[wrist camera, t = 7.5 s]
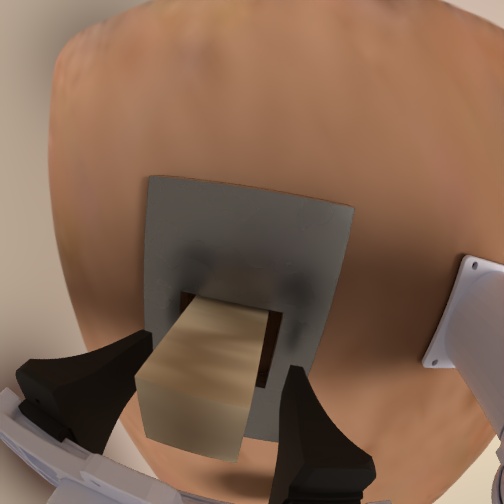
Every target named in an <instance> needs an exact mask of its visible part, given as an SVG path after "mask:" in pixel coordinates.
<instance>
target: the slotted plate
mask: <svg viewBox="0 0 504 504" xmlns="http://www.w3.org/2000/svg"><path fill="white" fill-rule="evenodd" d="M354 210H355V208H354V207H352V206H350V205H346V204H342V203H337V202H332V201H328V200H323V199H318V198H313V197H308V196H302V195H297V194H292V193H286V192H280V191H275V190H269V189H263V188H257V187H250V186H244V185H237V184H230V183H223V182H215V181H208V180H200V179H191V178H183V177H174V176H164V175H158V176H150V177H149V186H148V197H147V209H146V223H145V242H144V323H145V331H149V332H152V337H153V351H154V350H155V348H156V347H157V346H158V344H159V343H160V342H161V341H162V339H163V338H164V337H165V335H166V334H167V333H168V331H169V330H170V329H171V328H172V326H173V325H174V324H175V322H176V321H177V320H178V318H179V317H180V316H181V315H182V313H183V312H184V311H185V309H186V308H187V307H188V302H189V293H192V294H196V295H200V296H205V297H209V298H214V299H218V300H223V301H228V302H232V303H237V304H242V305H247V306H252V307H257V308H262V309H267V310H273V311H278V312H282V315H281V319H280V324H279V328H278V332H277V336H276V341H275V345H274V349H273V353H272V357H271V361H270V365H269V369H268V373H262V372H257V377H256V382H255V387H254V392H253V397H252V402H251V407H250V411H249V415H248V419H247V423H246V427H245V431H244V435H243V437H247V438H253V439H259V440H265V441H271V442H278V443H279V407H280V400H281V393H282V390H283V387H284V384H285V380H286V377H287V374H288V371H289V368H290V365H295V366H302V367H303V368H304V370H305V373H306V376H307V377H308V374H309V372H310V369H311V366H312V363H313V360H314V357H315V355H316V352H317V349H318V346H319V343H320V340H321V337H322V333H323V330H324V327H325V324H326V321H327V317H328V314H329V311H330V307H331V304H332V300H333V297H334V293H335V290H336V286H337V282H338V279H339V275H340V271H341V267H342V263H343V259H344V255H345V251H346V247H347V243H348V238H349V234H350V229H351V225H352V220H353V215H354Z"/></svg>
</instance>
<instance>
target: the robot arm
mask: <svg viewBox="0 0 504 504" xmlns="http://www.w3.org/2000/svg"><path fill="white" fill-rule="evenodd" d="M474 262H475V264H474V266H473V267H472V265H473V263H474ZM152 352H153V337H152V332H149V331H145V330H140V331H138V332H136V333H134V334H131V335H129V336H127V337H125V338H123V339H121V340H119V341H117V342H115V343H112V344H110V345H108V346H105V347H103V348H100V349H98V350H95V351H92V352H89V353H85V354H81V355H77V356H72V357H67V358H59V359H29V360H28V361H27V362H26V363H25V364H23V365H22V366H21V367H20V368H19V369H17V370H16V379H17V381H18V384H19V385H20V388H21V390H22V392H23V394H24V396H25V398H26V399H25V400H24V401H23V402H22V400H21V399H20V398H19V397H18V396H17V395H16V394H15V393H14V392H12V391H11V390H10V389H9V388H7V387H6V388H5V389H4V390H3V391H2V392H1V393H0V438H1V440H2V441H4V442H5V444H6V445H8V446H9V447H10V448H11V449H12V450H13V451H14V452H15V453H16V454H17V455H18V456H19V457H20V458H21V459H23V460H24V461H25V462H26V463H27V464H28V465H29V466H30V467H32V468H33V469H34V470H35V471H36V472H38V473H39V474H40V475H41V476H42V477H44V478H45V479H46V480H47V481H49V482H50V483H51V484H53V485H54V486H55V487H57V488H56V490H55V491H54V492H53V494H52V495H51V497H50V498H49V500H48V501H47V503H46V504H233V503H228V502H223V501H218V500H214V499H210V498H206V497H202V496H198V495H194V494H191V493H187V492H184V491H180V490H177V489H175V488H173V487H172V486H170V485H169V484H167V483H165V482H162V481H160V480H158V479H156V478H153V477H150V476H148V475H145V474H143V473H140V472H138V471H135V470H133V469H130V468H128V467H126V466H124V465H122V464H120V463H117V462H115V461H113V460H111V459H109V458H107V457H105V456H102V454H103V451H104V449H105V446H106V444H107V441H108V439H109V437H110V435H111V432H112V430H113V428H114V426H115V424H116V422H117V420H118V418H119V416H120V414H121V413H122V411H123V409H124V407H125V406H126V404H127V403H128V401H129V400H130V399H131V397H132V396H133V394H134V393H135V392H136V390H137V389H136V383H135V375H136V373H137V372H138V371H139V369H140V368H141V367H142V365H143V364H144V363H145V362H146V360H147V359H148V358H149V356H150V355H151V354H152ZM434 360H435V361H434ZM433 361H434V362H433ZM422 365H423V366H424V367H425V368H456V369H457V370H458V372H459V373H460V375H461V376H462V378H463V379H464V381H465V382H466V384H467V385H468V387H469V389H470V390H471V392H472V393H473V395H474V396H475V398H476V400H477V401H478V403H479V405H480V406H481V408H482V410H483V411H484V413H485V415H486V416H487V418H488V420H489V422H490V423H491V425H492V427H493V429H494V430H495V432H496V434H497V436H498V438H499V440H500V441H501V445H500V447H499V448H498V450H497V451H496V454H497V457H498V459H499V461H500V463H501V465H500V466H499V469H498V470H497V473H496V475H495V478H494V481H493V485H492V496H491V498H492V504H504V265H502V264H499V263H495V262H492V261H489V260H485V259H482V258H478V257H475V256H471V255H466V256H465V257H464V258H463V259H462V262H461V265H460V268H459V272H458V275H457V278H456V281H455V284H454V287H453V290H452V292H451V295H450V298H449V301H448V303H447V306H446V308H445V311H444V313H443V316H442V318H441V321H440V323H439V325H438V328H437V330H436V332H435V334H434V337H433V339H432V341H431V343H430V345H429V347H428V349H427V351H426V353H425V355H424V357H423V359H422ZM375 478H376V470H375V465H374V462H373V459H372V456H370V455H369V454H367V453H366V452H364V451H363V450H361V449H360V448H359V447H357V446H356V445H355V444H354V443H353V442H351V441H350V440H349V439H348V438H347V437H346V436H345V435H344V434H343V433H342V432H341V431H340V430H339V429H338V428H337V427H336V425H335V424H334V423H333V422H332V420H331V419H330V418H329V416H328V415H327V414H326V412H325V411H324V409H323V407H322V406H321V404H320V403H319V401H318V399H317V397H316V395H315V393H314V391H313V389H312V387H311V385H310V383H309V381H308V378H307V376H306V373H305V370H304V368H303V367H302V366H295V365H290V368H289V371H288V374H287V377H286V380H285V384H284V387H283V390H282V393H281V400H280V407H279V445H278V455H277V461H276V468H275V474H274V479H273V485H272V490H271V495H270V499H269V504H361V502H360V500H361V499H363V490H364V489H365V488H367V487H368V486H369V485H370V484H371V483H372V482H373V481H374V479H375ZM366 504H391V501H390V500H386V501H379V502H371V503H366Z"/></svg>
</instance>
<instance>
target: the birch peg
mask: <svg viewBox="0 0 504 504" xmlns="http://www.w3.org/2000/svg"><path fill="white" fill-rule="evenodd" d="M268 314H269V310H267V309H262V308H257V307H252V306H247V305H242V304H237V303H232V302H228V301H223V300H218V299H214V298H209V297H205V296H200V295H196V297H195V298H194V299H193V300H192V302H191V303H190V304H189V306H188V307H187V308H186V309H185V311H184V312H183V313H182V315H181V316H180V317H179V318H178V320H177V321H176V322H175V324H174V325H173V326H172V328H171V329H170V330H169V331H168V333H167V334H166V335H165V337H164V338H163V339H162V341H161V342H160V343H159V344H158V346H157V347H156V348H155V350H154V351H153V352H152V354H151V355H150V356H149V358H148V359H147V360H146V362H145V363H144V364H143V365H142V367H141V368H140V369H139V371H138V372H137V373H136V375H135V383H136V389H137V395H138V400H139V406H140V411H141V416H142V421H143V426H144V430H145V434H146V437H147V438H149V439H152V440H155V441H157V442H160V443H163V444H166V445H169V446H172V447H175V448H178V449H181V450H185V451H188V452H191V453H195V454H199V455H202V456H206V457H210V458H214V459H219V460H223V461H228V462H232V463H237V459H238V455H239V451H240V447H241V443H242V439H243V435H244V431H245V427H246V423H247V419H248V415H249V411H250V407H251V402H252V397H253V392H254V387H255V382H256V377H257V372H258V367H259V362H260V357H261V351H262V346H263V341H264V336H265V330H266V325H267V319H268Z"/></svg>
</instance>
